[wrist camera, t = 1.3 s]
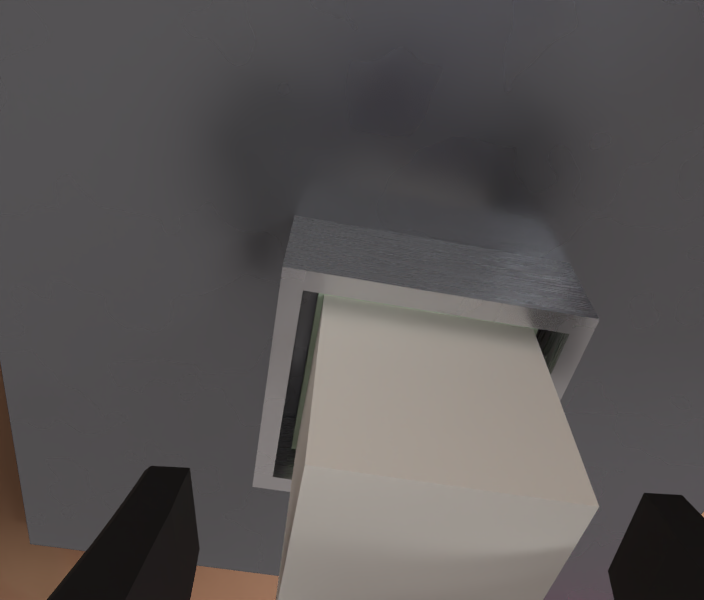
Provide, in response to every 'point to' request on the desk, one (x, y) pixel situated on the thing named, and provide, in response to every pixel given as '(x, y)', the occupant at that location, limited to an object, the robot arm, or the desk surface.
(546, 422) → the post
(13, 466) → the desk surface
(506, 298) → the stand
